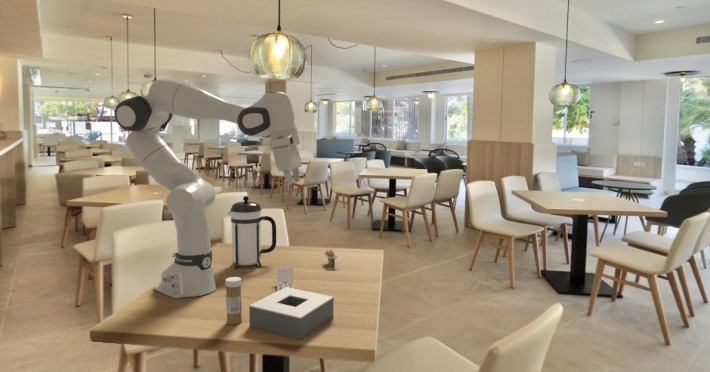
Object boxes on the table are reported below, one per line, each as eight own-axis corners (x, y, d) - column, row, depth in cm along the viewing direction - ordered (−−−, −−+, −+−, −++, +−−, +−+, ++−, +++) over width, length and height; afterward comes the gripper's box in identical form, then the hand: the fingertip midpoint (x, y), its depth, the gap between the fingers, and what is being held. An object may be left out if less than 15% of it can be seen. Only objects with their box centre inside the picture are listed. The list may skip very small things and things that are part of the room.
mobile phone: (292, 266, 172) (294, 288, 147) (293, 281, 172) (295, 305, 148) (276, 267, 171) (276, 289, 146) (277, 282, 171) (276, 307, 147)
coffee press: (248, 273, 181) (247, 199, 178) (221, 266, 190) (219, 196, 186) (277, 262, 196) (277, 195, 192) (250, 257, 204) (249, 192, 201)
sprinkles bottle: (243, 318, 137) (242, 276, 135) (240, 325, 132) (239, 281, 131) (228, 319, 137) (227, 276, 135) (224, 325, 132) (223, 281, 130)
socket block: (249, 326, 132) (249, 305, 131) (286, 305, 148) (286, 287, 147) (300, 339, 123) (300, 317, 123) (333, 316, 139) (333, 296, 139)
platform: (322, 273, 184) (322, 257, 183) (311, 261, 201) (311, 246, 200) (349, 270, 188) (349, 255, 187) (336, 259, 205) (336, 245, 204)
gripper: (283, 143, 155) (291, 182, 157) (267, 143, 135) (276, 187, 136) (301, 139, 155) (309, 178, 156) (287, 139, 135) (296, 184, 136)
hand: (293, 183), depth 146 cm, fingers open, 8 cm apart
